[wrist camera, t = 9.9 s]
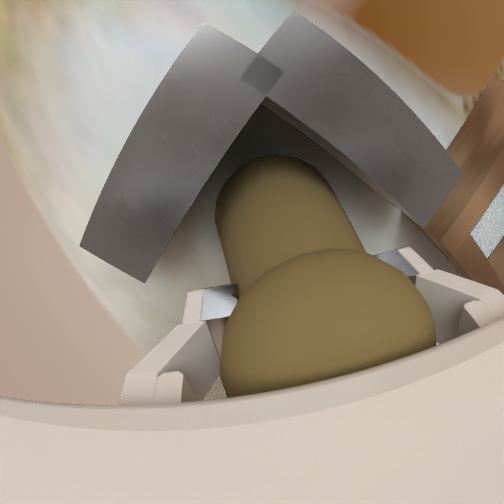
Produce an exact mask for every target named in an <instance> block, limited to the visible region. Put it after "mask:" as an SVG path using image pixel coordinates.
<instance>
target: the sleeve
mask: <svg viewBox="0 0 504 504" xmlns="http://www.w3.org/2000/svg"><path fill="white" fill-rule="evenodd" d="M446 151H447V153H448V154H449V155H450V156H451V158H452V159H453V160H454V162H455V163H456V164H457V166H458V167H459V168H460V170H461V171H462V173H463V176H462V177H461V179H460V180H459V182H458V183H457V185H456V186H455V187H454V189H453V190H452V192H451V193H450V194H449V196H448V197H447V199H446V200H445V201H444V203H443V204H442V205H441V207H440V208H439V209H438V211H437V212H436V213H435V215H434V216H433V217H432V219H431V220H430V221H429V223H428V224H427V225H426V226H425V228H422V227H421V226H420V225H419V224H417V223H416V222H415V221H414V220H412V219H411V218H410V217H408V216H407V215H406V214H405V215H406V216H407V217H408V218H409V219H410V220H411V221H412V222H413V223H414V224H415V225H416V226H417V227H418V228H419V229H420V230H421V231H422V232H423V233H424V234H425V235H426V236H427V237H428V238H429V239H430V240H431V241H432V242H433V243H434V244H435V245H436V247H437V248H438V249H439V250H440V251H441V252H442V253H443V254H444V255H445V256H446V257H447V259H448V260H449V261H450V262H451V263H452V264H453V265H454V266H455V268H456V269H457V270H458V271H459V272H460V273H461V275H462V276H463V277H464V278H466V279H469V280H472V281H475V282H477V283H480V284H483V285H486V286H489V287H492V288H495V289H498V290H499V291H500V292H501V293H502V294H503V295H504V237H503V238H502V239H501V241H500V242H499V244H498V245H497V247H496V248H495V249H494V251H493V252H492V253H491V255H490V256H489V258H488V259H487V258H486V256H485V255H484V253H483V252H482V250H481V249H480V247H479V246H478V245H477V243H476V242H475V240H474V239H473V237H472V236H471V235H470V233H471V231H472V230H473V229H474V227H475V226H476V224H477V223H478V222H479V220H480V219H481V217H482V216H483V215H484V213H485V212H486V210H487V209H488V207H489V206H490V204H491V203H492V201H493V200H494V198H495V197H496V195H497V193H498V192H499V190H500V189H501V187H502V186H503V184H504V80H496V79H491V80H490V82H489V84H488V85H487V87H486V89H485V90H484V92H483V94H482V96H481V97H480V99H479V100H478V102H477V104H476V105H475V107H474V109H473V110H472V112H471V113H470V115H469V117H468V118H467V120H466V121H465V123H464V124H463V126H462V128H461V129H460V131H459V132H458V134H457V135H456V137H455V138H454V140H453V141H452V143H451V144H450V146H449V147H448V148H447V150H446Z"/></svg>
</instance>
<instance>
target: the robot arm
mask: <svg viewBox="0 0 504 504" xmlns="http://www.w3.org/2000/svg"><path fill="white" fill-rule="evenodd" d="M373 256H375V257H377V258H379V259H381V260H383V261H385V262H387V263H389V264H390V265H392V266H394V267H396V268H398V269H400V270H401V271H402V272H403V273H404V274H405V275H406V276H407V277H408V278H409V279H410V281H411V282H412V283H413V284H414V285H415V287H416V288H417V289H418V291H419V292H420V293H421V295H422V296H423V298H424V299H425V300H426V302H427V303H428V306H429V308H430V311H431V313H432V316H433V319H434V322H435V332H436V342H438V343H439V345H437V346H434V347H431V348H429V349H426V350H423V351H420V352H418V353H415V354H412V355H409V356H406V357H403V358H400V359H397V360H394V361H391V362H388V363H385V364H381V365H378V366H375V367H371V368H368V369H365V370H361V371H358V372H354V373H350V374H346V375H343V376H339V377H335V378H331V379H327V380H323V381H318V382H314V383H309V384H305V385H300V386H295V387H290V388H285V389H280V390H275V391H269V392H263V393H257V394H251V395H244V396H237V397H230V398H222V399H213V400H204V401H202V400H203V399H204V397H205V395H206V394H207V392H208V391H209V389H210V388H211V386H212V384H213V383H214V381H215V380H216V378H217V377H218V375H219V373H220V360H221V348H222V338H223V331H224V329H225V326H226V324H227V321H228V319H229V316H230V314H231V313H232V311H233V309H234V307H235V305H236V304H237V302H238V300H239V294H238V287H237V283H234V284H228V285H221V286H215V287H209V288H205V289H204V288H202V289H197V290H192V291H189V292H188V293H187V298H186V304H185V310H184V315H183V321H182V324H181V325H177V326H176V327H175V328H174V329H173V330H172V331H171V332H170V333H169V334H168V335H167V336H166V337H165V338H164V339H163V340H161V341H160V342H159V343H158V344H157V345H156V346H155V347H154V348H153V349H152V350H151V351H150V352H149V353H148V354H147V355H146V356H145V357H144V358H143V359H142V360H141V361H140V362H139V363H138V364H137V365H136V366H135V367H134V368H133V369H132V370H131V371H130V372H128V373H127V375H126V379H125V382H124V386H123V389H122V393H121V397H120V401H119V404H118V405H85V404H66V403H52V402H41V401H32V400H23V399H16V398H9V397H2V396H0V504H504V295H503V294H502V293H501V292H500V291H499V290H498V289H495V288H492V287H489V286H486V285H483V284H480V283H477V282H475V281H472V280H469V279H466V278H463V277H460V276H457V275H454V274H451V273H448V272H445V271H442V270H438V269H437V270H433V269H432V268H431V267H430V266H429V265H428V264H427V263H426V262H425V261H424V260H423V259H422V258H421V257H420V256H419V255H418V254H417V253H416V252H415V251H414V250H413V249H412V248H411V247H403V248H400V249H396V250H393V251H389V252H385V253H381V254H377V255H373Z"/></svg>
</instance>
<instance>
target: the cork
mask: <svg viewBox="0 0 504 504" xmlns="http://www.w3.org/2000/svg"><path fill="white" fill-rule="evenodd" d="M215 220H216V224H217V229H218V233H219V237H220V241H221V244H222V248H223V252H224V256H225V260H226V264H227V268H228V272H229V276H230V280H231V283H232V284H234V283H237V287H238V294H239V300H238V302H237V304H236V305H235V307H234V309H233V311H232V313H231V314H230V316H229V319H228V321H227V324H226V326H225V329H224V331H223V338H222V348H221V360H220V377H221V380H222V383H223V386H224V389H225V392H226V395H227V397H228V398H230V397H237V396H244V395H251V394H257V393H263V392H269V391H275V390H280V389H285V388H290V387H295V386H300V385H305V384H309V383H314V382H318V381H323V380H327V379H331V378H335V377H339V376H343V375H346V374H350V373H354V372H358V371H361V370H365V369H368V368H371V367H375V366H378V365H381V364H385V363H388V362H391V361H394V360H397V359H400V358H403V357H406V356H409V355H412V354H415V353H418V352H420V351H423V350H426V349H429V348H431V347H434V346H436V332H435V322H434V319H433V316H432V313H431V311H430V308H429V306H428V303H427V302H426V300H425V299H424V298H423V296H422V295H421V293H420V292H419V291H418V289H417V288H416V287H415V285H414V284H413V283H412V282H411V281H410V279H409V278H408V277H407V276H406V275H405V274H404V273H403V272H402V271H401V270H400V269H398V268H396V267H394V266H392V265H390V264H389V263H387V262H385V261H383V260H381V259H379V258H377V257H375V256H373V255H371V254H369V253H367V252H366V251H365V249H364V247H363V245H362V243H361V241H360V239H359V237H358V236H357V234H356V232H355V230H354V228H353V226H352V224H351V222H350V221H349V219H348V217H347V215H346V213H345V211H344V210H343V208H342V206H341V204H340V202H339V201H338V199H337V197H336V195H335V194H334V192H333V190H332V188H331V187H330V185H329V183H328V181H327V180H326V179H325V178H324V177H323V176H322V175H321V174H320V172H319V171H318V170H317V169H316V168H315V167H314V166H312V165H310V164H308V163H306V162H304V161H302V160H300V159H298V158H294V157H287V156H280V155H275V156H269V157H263V158H258V159H255V160H253V161H252V162H250V163H248V164H246V165H244V166H242V167H240V168H239V169H238V170H237V171H236V172H235V173H234V174H233V175H232V176H231V177H230V178H229V179H228V180H227V181H226V182H225V184H224V186H223V188H222V190H221V193H220V195H219V197H218V199H217V204H216V215H215Z"/></svg>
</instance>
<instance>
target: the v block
mask: <svg viewBox="0 0 504 504" xmlns="http://www.w3.org/2000/svg"><path fill="white" fill-rule="evenodd" d="M260 103H261V104H262V105H264V106H265V107H267V108H268V109H269V110H271V111H272V112H274V113H275V114H277V115H278V116H280V117H281V118H282V119H284V120H285V121H287V122H288V123H289V124H291V125H292V126H294V127H295V128H296V129H298V130H299V131H300V132H302V133H303V134H305V135H306V136H307V137H309V138H310V139H311V140H312V141H314V142H315V143H316V144H318V145H319V146H320V147H322V148H323V149H324V150H325V151H327V152H328V153H329V154H330V155H332V156H333V157H334V158H335V159H337V160H338V161H339V162H340V163H342V164H343V165H344V166H345V167H346V168H348V169H349V170H350V171H351V172H352V173H354V174H355V175H356V176H357V177H358V178H360V179H361V180H362V181H363V182H364V183H365V184H367V185H368V186H369V187H370V188H371V189H372V190H373V191H374V192H376V193H377V194H379V195H380V196H381V197H383V198H384V199H386V200H387V201H388V202H390V203H391V204H392V205H394V206H395V207H396V208H398V209H399V210H400V211H402V212H403V213H404V214H406V215H407V216H408V217H410V218H411V219H412V220H414V221H415V222H416V223H417V224H419V225H420V226H421V227H422V228H425V226H426V225H427V224H428V223H429V221H430V220H431V219H432V217H433V216H434V215H435V213H436V212H437V211H438V209H439V208H440V207H441V205H442V204H443V203H444V201H445V200H446V199H447V197H448V196H449V194H450V193H451V192H452V190H453V189H454V187H455V186H456V185H457V183H458V182H459V180H460V179H461V177H462V176H463V173H462V171H461V170H460V168H459V167H458V166H457V164H456V163H455V162H454V160H453V159H452V158H451V156H450V155H449V154H448V153H447V151H446V150H445V149H444V147H443V146H442V145H441V144H440V142H439V141H438V140H437V139H436V138H435V136H434V135H433V134H432V133H431V132H430V130H429V129H428V128H427V127H426V126H425V125H424V123H423V122H422V121H421V120H420V119H419V118H418V117H417V116H416V114H415V113H414V112H413V111H412V110H411V109H410V108H409V107H408V106H407V105H406V104H405V103H404V102H403V101H402V100H401V99H400V97H399V96H398V95H397V94H396V93H395V92H394V91H393V90H392V89H391V88H390V87H388V86H387V85H386V84H385V83H384V82H383V81H382V80H381V79H380V78H379V77H378V76H377V75H376V74H375V73H374V72H373V71H371V70H370V69H369V68H368V67H367V66H366V65H365V64H364V63H362V62H361V61H360V60H359V59H358V58H357V57H356V56H354V55H353V54H352V53H351V52H350V51H348V50H347V49H346V48H345V47H343V46H342V45H341V44H340V43H338V42H337V41H336V40H335V39H333V38H332V37H331V36H329V35H328V34H327V33H325V32H324V31H323V30H321V29H320V28H319V27H317V26H316V25H314V24H313V23H312V22H310V21H309V20H307V19H306V18H304V17H303V16H301V15H300V14H298V13H297V12H295V11H293V12H292V13H291V15H290V16H289V17H288V18H287V19H286V20H285V21H284V23H283V24H282V25H281V26H280V27H279V29H278V30H277V31H276V32H275V33H274V34H273V36H272V37H271V38H270V39H269V41H268V42H267V43H266V44H265V45H264V47H263V48H262V49H261V50H260V52H259V53H258V54H257V53H256V52H254V51H253V50H251V49H249V48H248V47H246V46H244V45H243V44H241V43H239V42H238V41H236V40H234V39H233V38H231V37H229V36H227V35H226V34H224V33H222V32H220V31H218V30H217V29H215V28H213V27H211V26H209V25H207V24H205V23H203V25H202V26H201V27H200V28H199V30H198V31H197V32H196V33H195V35H194V36H193V37H192V39H191V40H190V41H189V43H188V44H187V45H186V47H185V48H184V50H183V51H182V52H181V54H180V55H179V56H178V58H177V59H176V61H175V62H174V64H173V65H172V66H171V68H170V69H169V71H168V72H167V74H166V75H165V77H164V78H163V80H162V81H161V83H160V85H159V86H158V88H157V89H156V91H155V92H154V94H153V96H152V97H151V99H150V100H149V102H148V104H147V105H146V107H145V109H144V110H143V112H142V114H141V116H140V117H139V119H138V121H137V122H136V124H135V126H134V128H133V130H132V131H131V133H130V135H129V137H128V139H127V141H126V142H125V144H124V146H123V148H122V150H121V152H120V154H119V156H118V158H117V160H116V162H115V164H114V166H113V168H112V170H111V172H110V174H109V176H108V178H107V181H106V183H105V185H104V187H103V189H102V192H101V194H100V196H99V198H98V201H97V203H96V205H95V208H94V210H93V212H92V215H91V217H90V220H89V222H88V225H87V227H86V230H85V232H84V235H83V238H82V240H81V243H80V247H82V248H83V249H85V250H87V251H89V252H90V253H92V254H94V255H95V256H97V257H99V258H100V259H102V260H104V261H106V262H107V263H109V264H111V265H113V266H114V267H116V268H118V269H120V270H121V271H123V272H125V273H127V274H129V275H130V276H132V277H134V278H136V279H138V280H140V281H141V282H143V283H146V281H147V279H148V277H149V275H150V274H151V272H152V270H153V268H154V267H155V265H156V263H157V261H158V260H159V258H160V256H161V254H162V253H163V251H164V249H165V248H166V246H167V244H168V242H169V241H170V239H171V237H172V236H173V234H174V232H175V231H176V229H177V227H178V226H179V224H180V222H181V221H182V219H183V218H184V216H185V214H186V213H187V211H188V210H189V208H190V206H191V205H192V203H193V202H194V200H195V198H196V197H197V195H198V194H199V192H200V191H201V189H202V187H203V186H204V184H205V183H206V181H207V180H208V178H209V177H210V175H211V174H212V172H213V171H214V169H215V168H216V166H217V165H218V163H219V162H220V160H221V159H222V157H223V156H224V154H225V153H226V151H227V150H228V148H229V147H230V146H231V144H232V143H233V141H234V140H235V138H236V137H237V135H238V134H239V133H240V131H241V130H242V128H243V127H244V126H245V124H246V123H247V121H248V120H249V119H250V117H251V116H252V114H253V113H254V112H255V110H256V109H257V108H258V106H259V105H260Z"/></svg>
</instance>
